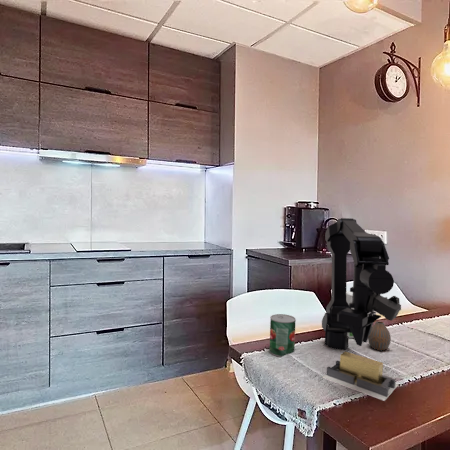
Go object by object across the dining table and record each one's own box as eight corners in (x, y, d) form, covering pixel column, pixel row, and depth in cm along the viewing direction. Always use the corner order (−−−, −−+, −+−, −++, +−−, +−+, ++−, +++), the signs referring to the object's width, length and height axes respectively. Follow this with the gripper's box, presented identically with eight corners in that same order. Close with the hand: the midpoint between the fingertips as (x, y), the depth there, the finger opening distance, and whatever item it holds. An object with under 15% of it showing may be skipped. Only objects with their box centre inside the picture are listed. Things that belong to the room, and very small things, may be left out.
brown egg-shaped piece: (388, 346, 121) (390, 320, 121) (391, 353, 115) (392, 327, 114) (366, 342, 123) (368, 317, 123) (367, 350, 117) (369, 324, 116)
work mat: (321, 381, 95) (321, 377, 95) (339, 367, 104) (339, 364, 103) (384, 405, 85) (384, 400, 85) (398, 388, 93) (398, 384, 93)
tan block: (339, 376, 96) (340, 354, 96) (344, 372, 98) (345, 351, 98) (377, 390, 90) (379, 366, 89) (381, 385, 92) (383, 362, 91)
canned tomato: (299, 356, 111) (300, 321, 110) (275, 358, 109) (277, 322, 108) (287, 346, 119) (288, 313, 118) (265, 348, 116) (266, 314, 116)
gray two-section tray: (326, 375, 97) (326, 367, 97) (336, 367, 102) (337, 360, 102) (386, 396, 86) (387, 388, 86) (395, 387, 91) (395, 379, 91)
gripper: (385, 296, 80) (381, 364, 81) (409, 284, 94) (405, 342, 95) (337, 287, 88) (334, 350, 89) (366, 277, 102) (363, 331, 102)
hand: (361, 343), depth 93 cm, fingers open, 3 cm apart
